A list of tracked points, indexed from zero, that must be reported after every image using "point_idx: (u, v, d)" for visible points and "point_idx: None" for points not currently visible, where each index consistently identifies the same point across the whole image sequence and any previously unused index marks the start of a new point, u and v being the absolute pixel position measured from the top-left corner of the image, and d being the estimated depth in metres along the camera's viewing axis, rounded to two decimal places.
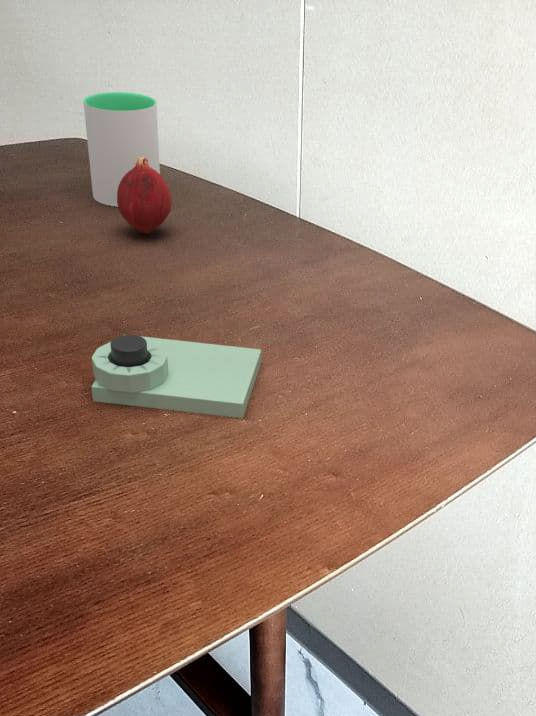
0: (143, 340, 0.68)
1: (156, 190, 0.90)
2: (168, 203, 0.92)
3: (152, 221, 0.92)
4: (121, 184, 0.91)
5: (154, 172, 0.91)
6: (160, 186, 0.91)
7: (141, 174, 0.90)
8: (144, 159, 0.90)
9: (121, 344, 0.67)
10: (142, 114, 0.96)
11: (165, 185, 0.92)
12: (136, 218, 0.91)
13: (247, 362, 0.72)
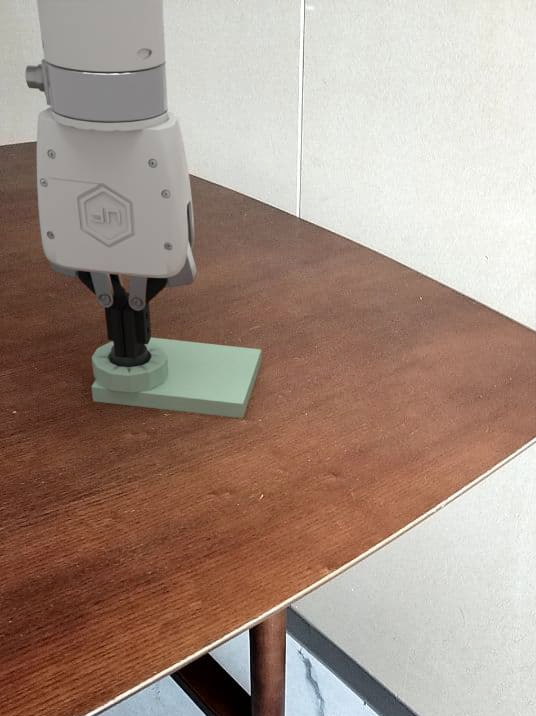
0: (143, 346, 0.68)
1: None
2: None
3: None
4: None
5: None
6: None
7: None
8: None
9: None
10: None
11: None
12: None
13: (247, 362, 0.72)
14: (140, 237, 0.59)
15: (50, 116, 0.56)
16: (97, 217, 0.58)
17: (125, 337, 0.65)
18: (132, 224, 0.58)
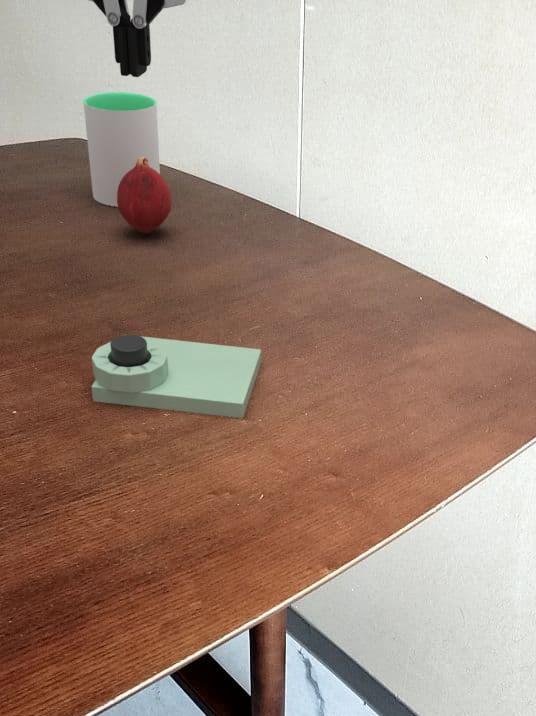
0: (143, 340, 0.68)
1: (156, 190, 0.90)
2: (168, 203, 0.92)
3: (152, 221, 0.92)
4: (121, 184, 0.91)
5: (154, 172, 0.91)
6: (160, 186, 0.91)
7: (141, 174, 0.90)
8: (144, 159, 0.90)
9: (121, 344, 0.67)
10: (142, 114, 0.96)
11: (165, 185, 0.92)
12: (136, 218, 0.91)
13: (247, 362, 0.72)
14: None
15: None
16: None
17: (129, 55, 0.79)
18: None
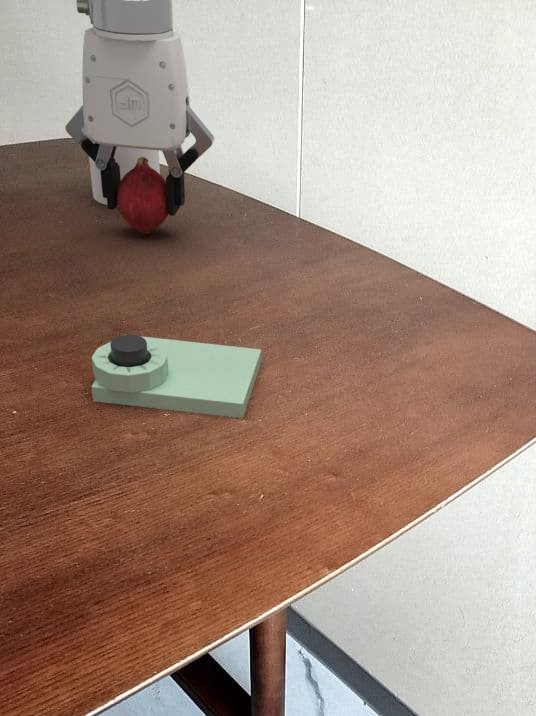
0: (143, 340, 0.68)
1: (156, 190, 0.90)
2: None
3: (152, 221, 0.92)
4: (121, 184, 0.91)
5: (155, 172, 0.91)
6: (160, 186, 0.91)
7: (141, 174, 0.90)
8: (144, 159, 0.90)
9: (121, 344, 0.67)
10: None
11: (165, 185, 0.92)
12: (136, 218, 0.91)
13: (247, 362, 0.72)
14: (153, 119, 0.85)
15: (93, 32, 0.82)
16: (123, 104, 0.84)
17: (167, 198, 0.91)
18: (148, 109, 0.84)
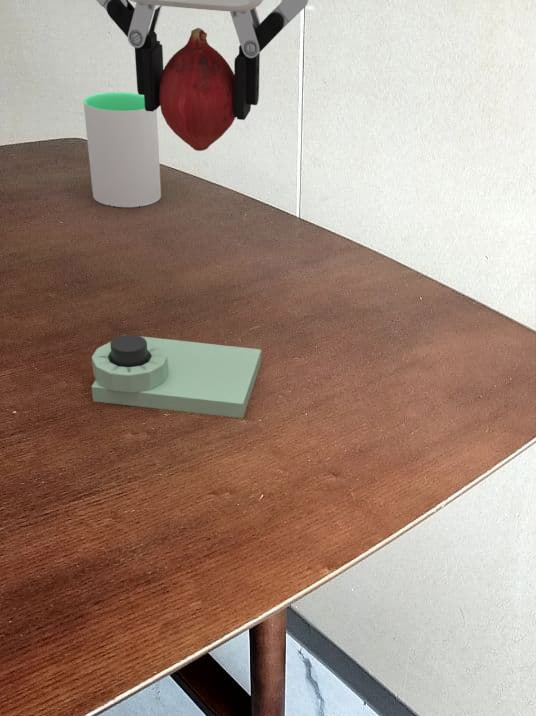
0: (143, 340, 0.68)
1: (220, 79, 0.60)
2: None
3: (212, 128, 0.62)
4: (166, 70, 0.61)
5: (216, 53, 0.61)
6: (225, 74, 0.61)
7: (197, 53, 0.60)
8: (201, 32, 0.60)
9: (121, 344, 0.67)
10: (142, 114, 0.96)
11: (231, 74, 0.61)
12: (188, 123, 0.61)
13: (247, 362, 0.72)
14: None
15: None
16: None
17: (235, 92, 0.61)
18: None
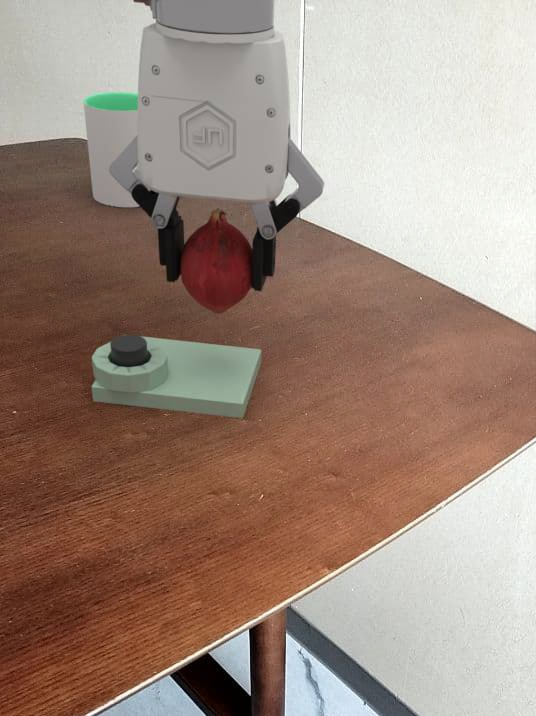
0: (143, 340, 0.68)
1: (238, 256, 0.63)
2: None
3: (231, 299, 0.65)
4: (188, 247, 0.64)
5: (235, 231, 0.64)
6: (243, 251, 0.64)
7: (217, 233, 0.63)
8: (221, 212, 0.63)
9: (121, 344, 0.67)
10: None
11: (249, 249, 0.64)
12: (207, 296, 0.64)
13: (247, 362, 0.72)
14: (241, 159, 0.58)
15: (155, 30, 0.55)
16: (198, 137, 0.57)
17: (252, 268, 0.64)
18: (234, 145, 0.57)
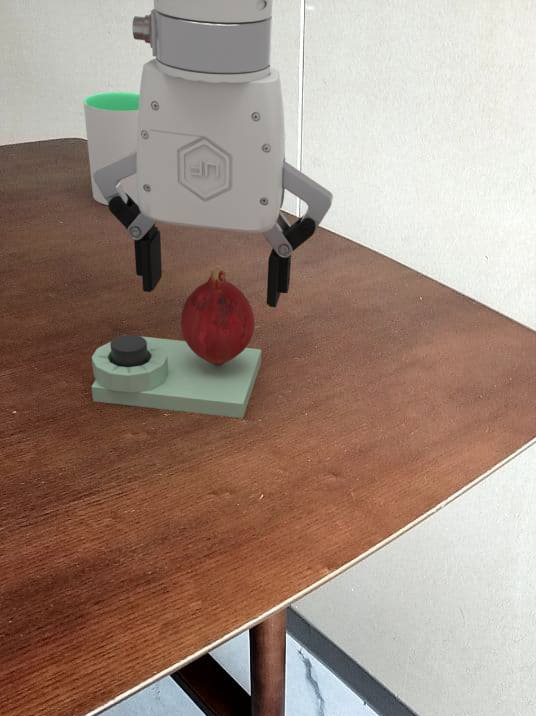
0: (143, 340, 0.68)
1: (237, 314, 0.66)
2: (251, 329, 0.68)
3: (230, 354, 0.68)
4: (188, 305, 0.67)
5: (234, 290, 0.67)
6: (241, 309, 0.67)
7: (216, 293, 0.66)
8: (220, 272, 0.66)
9: (121, 344, 0.67)
10: None
11: (247, 306, 0.67)
12: (207, 351, 0.67)
13: (247, 362, 0.72)
14: (237, 191, 0.59)
15: (155, 67, 0.56)
16: (195, 170, 0.59)
17: (268, 285, 0.65)
18: (230, 178, 0.59)
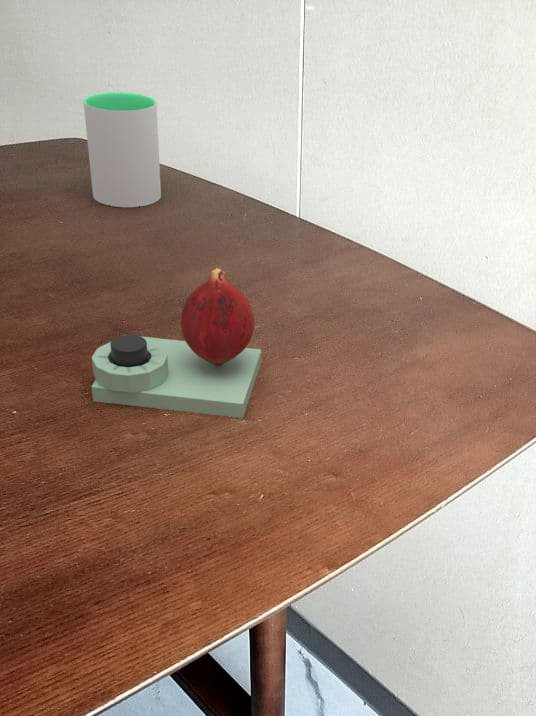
0: (143, 340, 0.68)
1: (237, 314, 0.66)
2: (251, 329, 0.68)
3: (230, 354, 0.68)
4: (188, 305, 0.67)
5: (234, 289, 0.67)
6: (241, 309, 0.67)
7: (216, 293, 0.66)
8: (220, 272, 0.66)
9: (121, 344, 0.67)
10: (142, 114, 0.96)
11: (247, 306, 0.67)
12: (207, 351, 0.67)
13: (247, 362, 0.72)
14: None
15: None
16: None
17: None
18: None
